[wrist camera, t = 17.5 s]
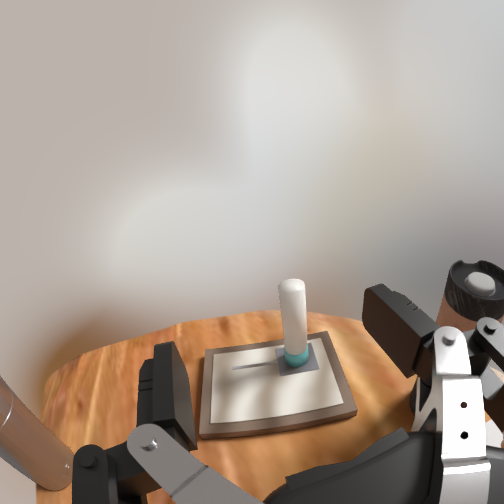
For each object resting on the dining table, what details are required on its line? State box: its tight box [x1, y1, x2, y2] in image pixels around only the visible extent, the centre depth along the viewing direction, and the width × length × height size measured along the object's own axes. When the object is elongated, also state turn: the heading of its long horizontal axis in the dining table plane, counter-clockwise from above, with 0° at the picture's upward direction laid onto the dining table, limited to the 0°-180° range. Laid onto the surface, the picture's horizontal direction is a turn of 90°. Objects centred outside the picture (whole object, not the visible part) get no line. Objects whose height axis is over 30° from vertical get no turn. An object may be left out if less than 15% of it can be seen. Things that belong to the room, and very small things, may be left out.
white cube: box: [485, 419, 503, 448], centre depth 16 cm, size 6×6×6 cm
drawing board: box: [199, 331, 358, 439], centre depth 37 cm, size 20×16×2 cm
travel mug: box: [410, 260, 504, 414], centre depth 24 cm, size 8×8×20 cm
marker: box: [278, 279, 308, 367], centre depth 37 cm, size 3×3×13 cm
